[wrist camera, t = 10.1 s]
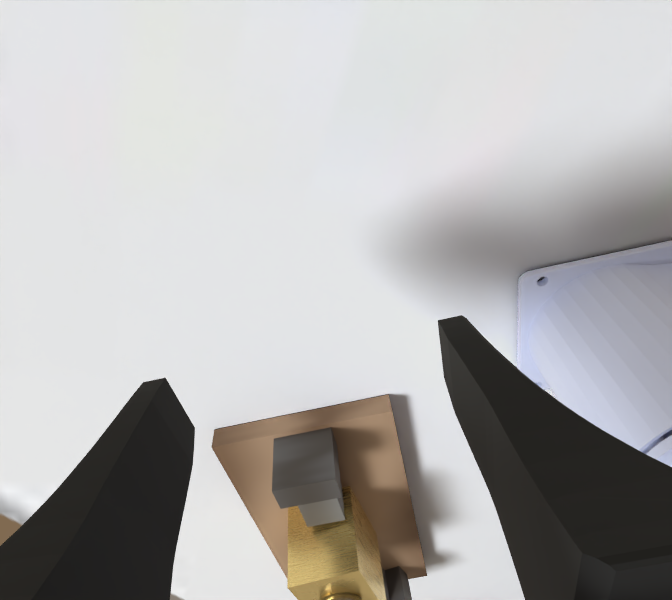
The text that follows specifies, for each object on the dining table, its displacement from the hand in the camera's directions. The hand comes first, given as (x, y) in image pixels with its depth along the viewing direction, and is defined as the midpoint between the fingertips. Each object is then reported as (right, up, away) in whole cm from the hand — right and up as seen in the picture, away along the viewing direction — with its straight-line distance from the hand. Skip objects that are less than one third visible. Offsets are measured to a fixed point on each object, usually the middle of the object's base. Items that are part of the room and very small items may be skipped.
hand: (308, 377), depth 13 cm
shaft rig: (+1, -12, +20) cm, 23 cm away
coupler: (+1, -12, +19) cm, 22 cm away
